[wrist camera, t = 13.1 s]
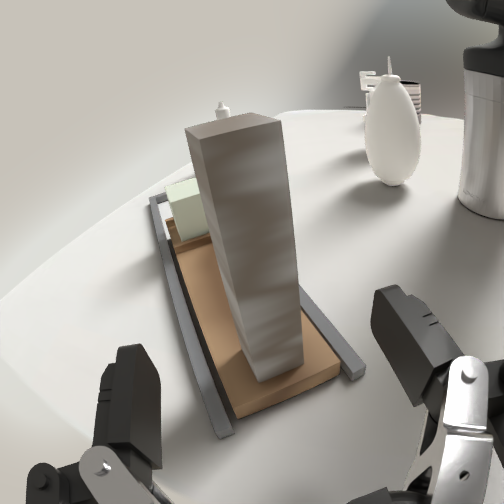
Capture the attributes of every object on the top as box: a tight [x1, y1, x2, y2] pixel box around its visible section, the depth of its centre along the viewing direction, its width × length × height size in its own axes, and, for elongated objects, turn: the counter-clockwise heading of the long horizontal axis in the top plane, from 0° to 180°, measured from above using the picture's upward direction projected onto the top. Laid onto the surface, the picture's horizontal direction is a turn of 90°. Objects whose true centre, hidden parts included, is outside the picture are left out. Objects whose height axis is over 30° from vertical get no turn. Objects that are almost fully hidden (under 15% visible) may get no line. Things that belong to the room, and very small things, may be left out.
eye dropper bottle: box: [215, 101, 231, 120], centre depth 54 cm, size 4×6×12 cm
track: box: [149, 192, 366, 439], centre depth 33 cm, size 10×39×1 cm, turn 21°
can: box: [399, 81, 421, 125], centre depth 69 cm, size 11×11×12 cm
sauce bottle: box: [365, 56, 421, 186], centre depth 36 cm, size 8×8×18 cm
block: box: [165, 177, 210, 242], centre depth 33 cm, size 5×5×5 cm
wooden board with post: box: [165, 113, 340, 419], centre depth 24 cm, size 7×25×16 cm, turn 21°
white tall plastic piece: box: [360, 71, 382, 123], centre depth 50 cm, size 7×7×15 cm
